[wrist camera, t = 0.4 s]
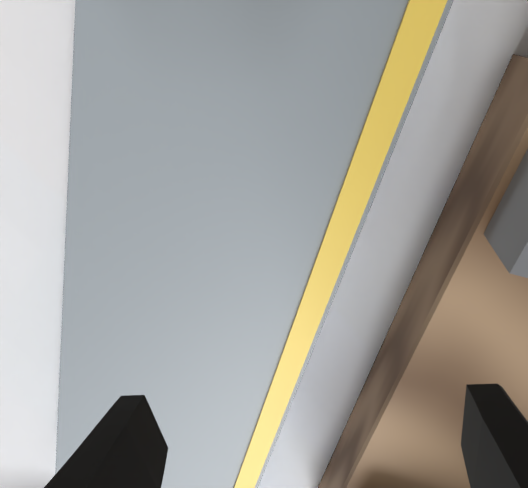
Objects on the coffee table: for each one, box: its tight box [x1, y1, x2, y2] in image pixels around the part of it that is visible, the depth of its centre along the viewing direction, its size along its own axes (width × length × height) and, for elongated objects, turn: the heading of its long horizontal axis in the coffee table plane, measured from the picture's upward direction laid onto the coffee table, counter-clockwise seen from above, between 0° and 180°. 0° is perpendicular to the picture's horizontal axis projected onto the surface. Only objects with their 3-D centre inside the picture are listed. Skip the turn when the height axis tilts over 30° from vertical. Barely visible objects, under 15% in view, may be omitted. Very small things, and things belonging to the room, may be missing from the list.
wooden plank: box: [318, 54, 528, 488], centre depth 21 cm, size 26×6×4 cm, turn 168°
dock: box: [55, 0, 453, 488], centre depth 21 cm, size 30×11×3 cm, turn 166°
